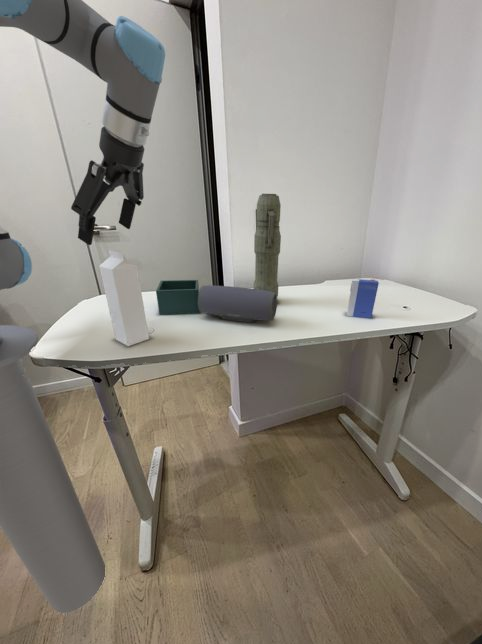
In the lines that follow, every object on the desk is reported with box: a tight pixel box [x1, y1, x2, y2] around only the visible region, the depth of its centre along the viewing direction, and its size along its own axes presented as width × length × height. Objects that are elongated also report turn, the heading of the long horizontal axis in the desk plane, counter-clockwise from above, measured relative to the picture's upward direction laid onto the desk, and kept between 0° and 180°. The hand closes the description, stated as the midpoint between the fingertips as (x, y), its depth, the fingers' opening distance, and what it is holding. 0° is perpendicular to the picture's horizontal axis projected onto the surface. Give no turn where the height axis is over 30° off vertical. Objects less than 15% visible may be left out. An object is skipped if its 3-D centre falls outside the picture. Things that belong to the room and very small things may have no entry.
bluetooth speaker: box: [198, 284, 278, 323], centre depth 88 cm, size 23×9×10 cm, turn 76°
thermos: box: [253, 193, 282, 297], centre depth 99 cm, size 9×12×35 cm
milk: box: [99, 249, 150, 347], centre depth 71 cm, size 6×6×22 cm
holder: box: [155, 279, 201, 316], centre depth 97 cm, size 13×13×8 cm
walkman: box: [346, 278, 380, 319], centre depth 94 cm, size 8×3×12 cm, turn 76°
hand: (106, 233), depth 68 cm, fingers open, 13 cm apart
